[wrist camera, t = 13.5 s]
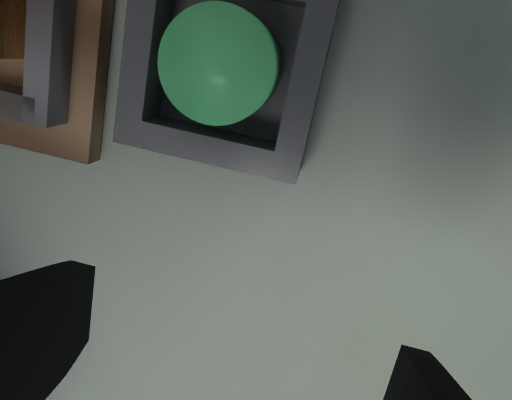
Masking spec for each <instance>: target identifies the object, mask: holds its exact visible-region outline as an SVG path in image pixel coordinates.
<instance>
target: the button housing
mask: <svg viewBox="0 0 512 400" xmlns="http://www.w3.org/2000/svg"><path fill="white" fill-rule="evenodd" d="M206 1H223V2H228V3H232V4H235V5H237V6H239V7H241V8H243V9H245V10H246V11H248V12H250V13H252V14H253V15H255V16H256V17H258V18H259V19H261V20H262V21H263V22H264V23H265V24H266V25H267V26H268V27H269V28H270V30H271V31H272V33H273V34H274V36H275V38H276V40H277V42H278V45H279V48H280V52H281V59H282V70H281V76H280V80H279V83H278V86H277V88H276V90H275V92H274V94H273V96H272V97H271V98H270V100H269V101H268V102H267V103H266V104H265V105H264V106H263V107H262V108H260V109H259V110H258V111H256V112H254V113H253V114H251V115H250V116H248V117H246V118H245V119H243V120H241V121H239V122H236V123H233V124H229V125H223V126H212V125H205V124H202V123H199V122H196V121H194V120H192V119H190V118H188V117H187V116H185V115H184V114H182V113H181V112H180V111H179V110H178V109H177V108H176V107H175V106H174V105H173V104H172V103H171V101H170V100H169V99H168V97H167V95H166V93H165V92H164V89H163V87H162V85H161V81H160V78H159V73H158V63H157V60H158V50H159V45H160V42H161V39H162V36H163V34H164V32H165V30H166V29H167V27H168V25H169V24H170V23H171V22H172V20H173V19H174V18H175V17H176V16H177V15H178V14H179V13H181V12H182V11H183V10H185V9H186V8H188V7H190V6H192V5H194V4H198V3H201V2H206ZM339 2H340V0H128V2H127V12H126V21H125V31H124V41H123V50H122V60H121V69H120V79H119V89H118V98H117V108H116V117H115V127H114V136H113V142H117V143H121V144H125V145H130V146H134V147H138V148H142V149H147V150H151V151H155V152H159V153H164V154H168V155H172V156H176V157H181V158H185V159H189V160H194V161H198V162H202V163H206V164H211V165H215V166H219V167H223V168H228V169H232V170H236V171H240V172H245V173H249V174H253V175H257V176H262V177H266V178H270V179H274V180H279V181H283V182H287V183H291V184H296V182H297V179H298V176H299V173H300V169H301V165H302V160H303V156H304V152H305V147H306V143H307V139H308V135H309V130H310V126H311V122H312V118H313V113H314V109H315V105H316V101H317V96H318V92H319V88H320V84H321V79H322V75H323V71H324V66H325V62H326V58H327V54H328V49H329V45H330V41H331V37H332V32H333V28H334V24H335V20H336V15H337V11H338V7H339Z"/></svg>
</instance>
